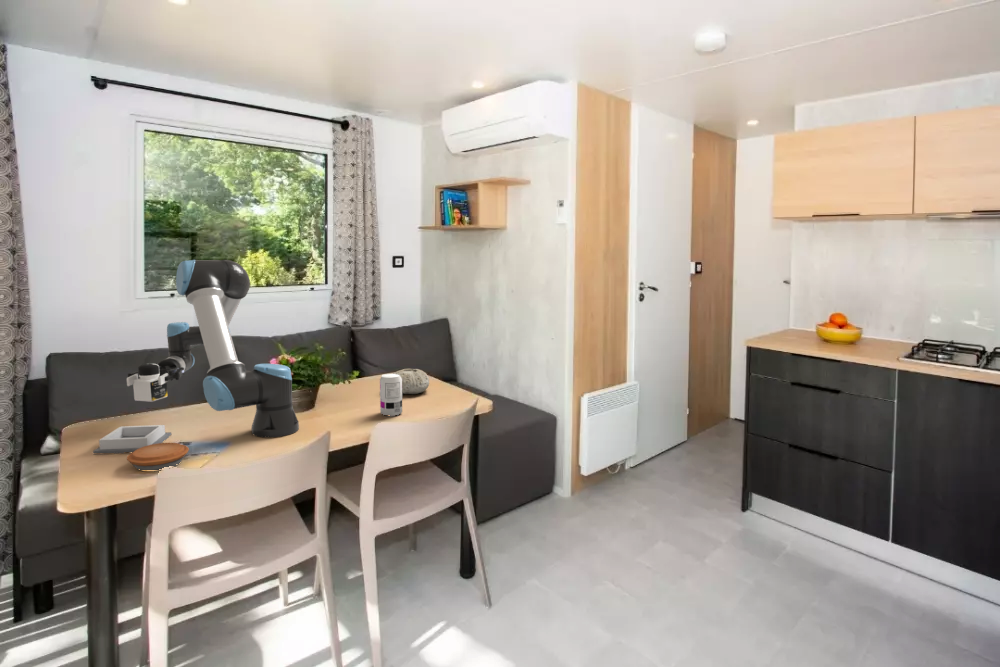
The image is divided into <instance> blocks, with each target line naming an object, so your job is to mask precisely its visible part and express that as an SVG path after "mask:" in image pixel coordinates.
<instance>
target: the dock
mask: <svg viewBox="0 0 1000 667" xmlns="http://www.w3.org/2000/svg"><path fill="white" fill-rule="evenodd" d="M165 426H166V425H164V424H158V425H157V424H156V425H154V424H153V425H151V424H150V425H128V426H125V425H124V426H123V425H122V426H119V427H118V428H116V429H114V430H113V431H111V432H110V433H108V434H106V435H104V436H103V437H101V438H100V439H99V440H98V443H99V447H97V448H95V449H94V450H93V451H92V454H93V453H114V454H125V453H124V452H134V451H135V450H137V449H139V448H142V447H144V446H148V445H152V444H158V443H164V442H163V441H164V440H165V441H166V440H167V439H168V438H169V436H170V435H171V436H172V432H166V427H165ZM171 436H170V437H171Z"/></svg>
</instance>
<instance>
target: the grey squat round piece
mask: <svg viewBox="0 0 1000 667" xmlns="http://www.w3.org/2000/svg"><path fill="white" fill-rule="evenodd" d="M392 374H399V375H400V377H401V379H402V394H404V395H406V394H408V395H416V394H417V395H419V394H421V393H423V392H424V391H426V390H427V389H428V387H429V386H430V377H429V376H428V375H427V372H425V371H423V370H422V369H419V368H404V369H403V368H402V369H400V370H397V371H395V372H393V373H392Z"/></svg>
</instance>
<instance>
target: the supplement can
mask: <svg viewBox="0 0 1000 667" xmlns="http://www.w3.org/2000/svg"><path fill="white" fill-rule="evenodd" d="M379 396H380V397H379V400H380V401H379V402H380V403H379V404H380V409H379V410H380V414H381V415H382V414H383V415H382V416H384V415H390V416H389V417H396V416H395V415H397V416H399V414H400V415H401V414H402V413H403V393H402V379H401V377H400V375H399V374H393V373H384V374H382V375H381V377H380V378H379Z"/></svg>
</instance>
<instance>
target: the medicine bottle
mask: <svg viewBox="0 0 1000 667" xmlns="http://www.w3.org/2000/svg"><path fill="white" fill-rule="evenodd" d="M157 364H158V363H157ZM157 364H156V363H144V364H141V365H139V366H138V368H137V369H138V370H137V371H139V377H140V378H139V379H136V380H133V385H132V387H133V398H134V401H135V402H137V401H138V402H151V403H153V402H156V401H159V400H162V399H165V398H167V397H168V395H169V394H168V386H167V385H168V382H166V383H164V384H162V385H159V383H158V377H159V375H160V372H159V365H157Z"/></svg>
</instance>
